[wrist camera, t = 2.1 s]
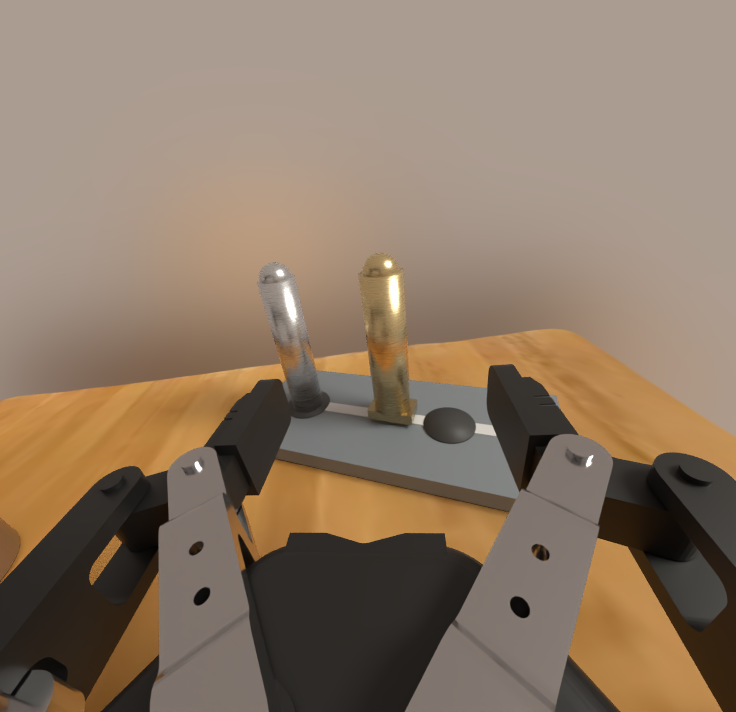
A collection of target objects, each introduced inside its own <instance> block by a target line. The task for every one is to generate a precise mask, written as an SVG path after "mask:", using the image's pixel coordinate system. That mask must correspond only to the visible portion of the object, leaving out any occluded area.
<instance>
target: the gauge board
mask: <svg viewBox="0 0 736 712" xmlns="http://www.w3.org/2000/svg"><path fill="white" fill-rule="evenodd" d="M316 371H317V370H316ZM317 376H318V380H319V384H320V389H321V393H322V397H323V403H322V405H321V406H320V407H319V408H318V409H316V410H314V411H312V412H308V413H301V412H298V411H296V410H295V409H294V406H293V402H292V399H291V395H290V392H289V389H288V385H287V382H286V381H285V382H284V383H283V388H284V391H285V394H286V397H287V400H288V403H289V406H290V410H291V422H290V426H289V428H288V430H287V432H286V435H285V437H284V439H283V442H282V444H281V446H280V448H279V451H278V453H277V455H276V458H275V459H280V460H284V461H288V462H293V463H297V464H302V465H306V466H310V467H315V468H319V469H324V470H328V471H332V472H337V473H341V474H346V475H350V476H354V477H359V478H363V479H367V480H372V481H376V482H381V483H385V484H389V485H394V486H398V487H403V488H407V489H411V490H416V491H420V492H425V493H429V494H433V495H438V496H442V497H447V498H451V499H455V500H460V501H464V502H468V503H473V504H477V505H482V506H486V507H490V508H495V509H499V510H504V511H508V512H510V510H511V508H512V506H513V504H514V502H515V500H516V498H517V496H518V495H519V490H518V488H517V485H516V483H515V480H514V478H513V475H512V473H511V470H510V468H509V465H508V463H507V460H506V458H505V456H504V453H503V451H502V448H501V446H500V443H499V441H498V438H497V436H496V433H495V431H494V428H493V426H492V423H491V421H490V418H489V415H488V411H487V388H480V387H470V386H460V385H451V384H441V383H432V382H422V381H412V380H409V387H410V399H417V411H416V414H415V418H414V421H413V424H412V426H411V425H405V424H398V423H392V422H385V421H379V420H372V419H369V418H368V411H367V410H368V408H369V406H370V404H371V402H372V400H373V399H374V395H373V388H372V380H371V376H364V375H355V374H345V373H336V372H326V371H317ZM550 397H551V398H552V399H553V400H554V402H555V403H556V406H558V407H559V404H558V400H557V396H556V395H550ZM559 409H560V407H559Z"/></svg>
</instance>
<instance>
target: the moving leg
mask: <svg viewBox="0 0 736 712" xmlns="http://www.w3.org/2000/svg"><path fill="white" fill-rule="evenodd" d="M358 276H359V284H360V292H361V300H362V308H363V316H364V324H365V332H366V340H367V348H368V356H369V364H370V372H371V380H372V388H373V395H374V399H373V400H372V402H371V404H370V406H369V408H368V410H367V411H368V418H369V419H372V420H379V421H385V422H392V423H398V424H405V425H411V426H412V424H413V421H414V418H415V414H416V411H417V399H410V387H409V367H408V348H407V329H406V310H405V290H404V271H403V269H402V268H400V267H398V264H397V262H396V260H395V259H394V258H393V257H392V256H390V255H388V254H385V253H376V254H374V255H372V256H370V257H369V258H368V259H367V260H366V262H365V263H364V266H363V271H362V272H360V273H359V275H358Z"/></svg>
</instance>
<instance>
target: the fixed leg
mask: <svg viewBox="0 0 736 712" xmlns="http://www.w3.org/2000/svg"><path fill="white" fill-rule="evenodd" d="M257 284H258V287H259V291H260V294H261V297H262V301H263V304H264V308H265V311H266V314H267V318H268V321H269V325H270V328H271V331H272V335H273V338H274V341H275V345H276V348H277V351H278V355H279V358H280V362H281V365H282V368H283V372H284V375H285V379H286V382H287V385H288V389H289V392H290V395H291V399H292V402H293V406H294V409H295V410H296V411H298V412H301V413H308V412H312V411H314V410H316V409H318V408H319V407H320V406H321V405H322V403H323V397H322V393H321V389H320V384H319V380H318V376H317V371H316V367H315V363H314V358H313V354H312V350H311V345H310V341H309V337H308V333H307V328H306V324H305V320H304V315H303V311H302V307H301V303H300V298H299V294H298V289H297V285H296V281H295V276H294V275H293V274H291V272H290V271H289V269H288V268H287V267H286V266H284V265H283V264H280V263H276V262H273V263H269V264H267V265H265V266H264V267H263V268H262V269H261V271H260V274H259V281H258V282H257Z"/></svg>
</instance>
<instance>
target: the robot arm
mask: <svg viewBox="0 0 736 712" xmlns="http://www.w3.org/2000/svg"><path fill="white" fill-rule="evenodd" d="M487 411H488V415H489V418H490V421H491V423H492V426H493V428H494V431H495V433H496V436H497V438H498V441H499V443H500V446H501V448H502V451H503V453H504V456H505V458H506V460H507V463H508V465H509V468H510V470H511V473H512V475H513V478H514V480H515V483H516V485H517V488H518V490H519V495H518V496H517V498H516V500H515V502H514V504H513V506H512V508H511V510H510V512H509V514H508V516H507V518H506V520H505V522H504V524H503V526H502V528H501V530H500V532H499V534H498V536H497V538H496V540H495V542H494V544H493V546H492V548H491V550H490V552H489V554H488V556H487V558H486V560H485V562H484V564H483V565H482V564H481V563H480V562H478V561H477V560H475V559H474V558H472V557H470V556H468V555H467V554H465V553H463V552H460V551H458V550H455V549H452V548H449V547H446V540H445V533H404V534H400V535H396V536H393V537H389V538H385V539H381V540H377V541H374V542H370V543H358V542H355V541H352V540H348V539H345V538H341V537H338V536H335V535H331V534H328V533H290V535H289V538H288V541H287V545H286V546H285V547H282V548H279V549H277V550H274V551H272V552H270V553H268V554H267V555H265V556H263V557H262V558H260V556H259V553H258V551H257V547H256V544H255V541H254V538H253V534H252V531H251V528H250V524H249V521H248V518H247V515H246V511H245V508H244V506H243V504H242V502H243V500H244V498H245V496H246V495H259V494H260V492H261V489H262V487H263V485H264V483H265V480H266V478H267V476H268V473H269V471H270V469H271V467H272V464H273V462H274V460H275V458H276V455H277V453H278V451H279V448H280V446H281V444H282V442H283V439H284V437H285V435H286V432H287V430H288V428H289V426H290V422H291V410H290V406H289V403H288V400H287V397H286V394H285V391H284V388H283V384H282V382H281V380H279V379H270V380H260V381H258V383H257V384H256V385H255V387H254V388H253V390H252V391H251V393H247V394H246V395H245V396H243V397H242V398H241V399H239V400H238V401H237V402H236V403H235V405H234V406H233V407H232V409H231V410H230V413H228V414H227V416H226V417H225V418H224V421H222V422H221V424H220V425H219V426H218V428H217V429H216V431H215V432H214V433H213V435H212V436H211V437H210V439H209V440H208V442H207V443H206V444H205V446H204V447H200V448H196V449H193V450H191V451H189V452H187V453H185V454H183V455H182V456H181V457H179V458H178V459H177V460H176V461H175V462H174V463H173V464H172V465H171V466H170V468H169V470H168V471H164V472H161V473H157V474H153V475H150V476H146V477H145V475H144V474H143V473H142V471H141V470H140V469H139V468H138V467H135V466H129V467H124V468H121V469H118V470H116V471H113V472H112V473H110V474H108V475H106V476H105V477H103V478H102V479H100V480H99V481H98V482H97V483H96V484H94V485H93V486H92V487H91V489H90V490H89V491H88V492H87V493H86V494H85V495H84V496H83V497H82V498H81V499H80V500H79V501H78V502H77V503H76V504H75V505H74V507H73V508H72V509H71V510H70V511H69V512H68V513H67V514H66V515H65V516H64V517H63V518H62V519H61V520H60V521H59V522H58V524H57V525H56V526H55V527H54V528H53V529H52V530H51V531H50V532H49V533H48V534H47V535H46V536H45V537H44V538H43V539H42V540H41V542H40V543H39V544H38V545H37V546H36V547H35V548H34V549H33V550H32V551H31V552H30V553H29V554H28V555H27V556H26V557H25V559H24V560H23V561H22V562H21V563H20V564H19V565H18V566H17V567H16V568H15V569H14V570H13V571H12V572H11V573H10V574H9V575H8V577H7V578H6V579H5V580H4V581H3V582H2V583H1V584H0V712H84V711H85V701H86V699H87V697H88V695H89V694H90V692H91V690H92V688H93V686H94V685H95V683H96V681H97V679H98V678H99V676H100V674H101V672H102V670H103V669H104V667H105V665H106V663H107V662H108V660H109V658H110V656H111V654H112V653H113V651H114V649H115V647H116V646H117V644H118V642H119V640H120V638H121V637H122V635H123V633H124V631H125V630H126V628H127V626H128V624H129V622H130V621H131V619H132V617H133V615H134V614H135V612H136V610H137V608H138V607H139V605H140V603H141V601H142V599H143V598H144V596H145V594H146V592H147V591H148V589H149V587H150V585H151V583H152V582H153V580H154V578H155V576H156V575H157V573H158V571H159V655H158V656H157V657H156V658H155V659H154V660H153V661H152V662H151V663H150V664H149V665H148V666H147V667H146V668H145V669H144V670H143V671H142V672H141V673H140V674H139V675H138V676H137V677H136V678H135V679H134V680H133V681H132V682H131V683H130V684H129V685H128V686H127V687H126V688H125V689H124V690H123V691H121V692H120V693H119V694H118V695H117V696H116V697H115V698H114V699H113V700H112V701H111V702H110V703H109V704H108V705H107V706H106V707H105V708H104V709H103V710H102V711H101V712H620V711H619V710H618V709H617V708H616V706H615V705H614V704H613V703H612V702H611V701H610V700H609V699H608V698H607V697H606V696H605V694H604V693H603V692H602V691H601V690H600V689H599V688H598V687H597V686H596V685H595V684H594V682H593V681H592V680H591V679H590V678H589V677H588V676H587V675H586V674H585V673H584V672H583V670H582V669H581V668H580V667H579V666H578V665H577V664H576V663H575V662H574V661H573V660H572V658H571V657H570V656H569V655H568V653H569V649H570V645H571V641H572V637H573V633H574V629H575V625H576V621H577V617H578V613H579V609H580V605H581V601H582V597H583V593H584V589H585V585H586V581H587V576H588V572H589V568H590V564H591V560H592V556H593V552H594V548H595V544H596V540H597V538H600V539H603V540H607V541H610V542H614V543H617V544H621V545H624V546H628V548H629V550H630V552H631V553H632V555H633V557H634V559H635V560H636V562H637V564H638V565H639V567H640V569H641V571H642V572H643V574H644V576H645V578H646V579H647V581H648V583H649V585H650V586H651V588H652V590H653V591H654V593H655V595H656V597H657V598H658V600H659V602H660V604H661V605H662V607H663V609H664V611H665V612H666V614H667V616H668V617H669V619H670V621H671V623H672V624H673V626H674V628H675V630H676V631H677V633H678V635H679V637H680V638H681V640H682V642H683V644H684V645H685V647H686V649H687V650H688V652H689V654H690V656H691V657H692V659H693V661H694V663H695V664H696V666H697V668H698V670H699V671H700V673H701V675H702V676H703V678H704V680H705V682H706V683H707V685H708V687H709V689H710V690H711V692H712V694H713V696H714V697H715V699H716V701H717V702H718V704H719V706H720V708H721V709H722V711H723V712H736V481H735V480H734V479H733V478H732V477H731V476H730V475H729V474H727V473H726V472H725V471H723V470H722V469H720V468H719V467H717V466H715V465H714V464H712V463H710V462H708V461H705V460H703V459H700V458H698V457H695V456H691V455H687V454H682V453H664V454H661V455H659V456H657V457H656V459H655V460H654V462H653V465H647V464H642V463H637V462H632V461H627V460H622V459H617V458H614V457H611V455H610V454H609V452H608V451H607V450H606V449H605V448H604V447H603V446H601V445H600V444H598V443H597V442H595V441H593V440H591V439H589V438H586V437H583V436H580V435H578V433H577V432H576V430H575V429H574V428H573V426H572V425H571V424H570V422H569V421H568V420H567V418H566V417H565V415H564V414H563V413H562V411H561V410H560V409H559V407H558V406H556V403H555V402H554V400H553V399H552V398H551V397H550V395H549V394H548V392H547V391H546V389H545V388H544V387H543V385H541V384H540V383H538V382H537V381H535V380H534V379H532V378H531V377H521V375H520V374H519V372H518V371H517V369H516V368H515V366H514V365H513V364H508V365H493V366H490V368H489V374H488V387H487ZM114 535H116V536H117V537H118V539H119V540H120V541H121V542H122V544H121V546H120V547H119V549H118V550H117V552H116V553H115V554H114V556H113V557H112V559H111V560H110V561H109V563H108V564H107V566H106V567H105V568H104V570H103V571H102V573H101V574H100V576H99V577H98V578H97V580H96V581H95V583H94V584H93V585H91V584H90V581H89V574H90V570H91V568H92V565H93V564H94V562H95V561H96V559H97V558H98V557H99V555H100V554H101V553H102V551H103V550H104V549H105V547H106V546H107V545H108V543H109V542H110V541H111V539H112V538H113V537H114ZM19 547H20V536H19V535H18V533H17V531H16V530H14V529H13V528H12V527H11V526H10V525H8V524H7V523H6V522H5V521H4V520H2V519H1V518H0V580H1V579H2V578H3V577H4V575H5V574H6V573H7V571H8V570H9V568H10V567H11V565H12V563H13V561H14V560H15V558H16V556H17V553H18V550H19Z"/></svg>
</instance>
